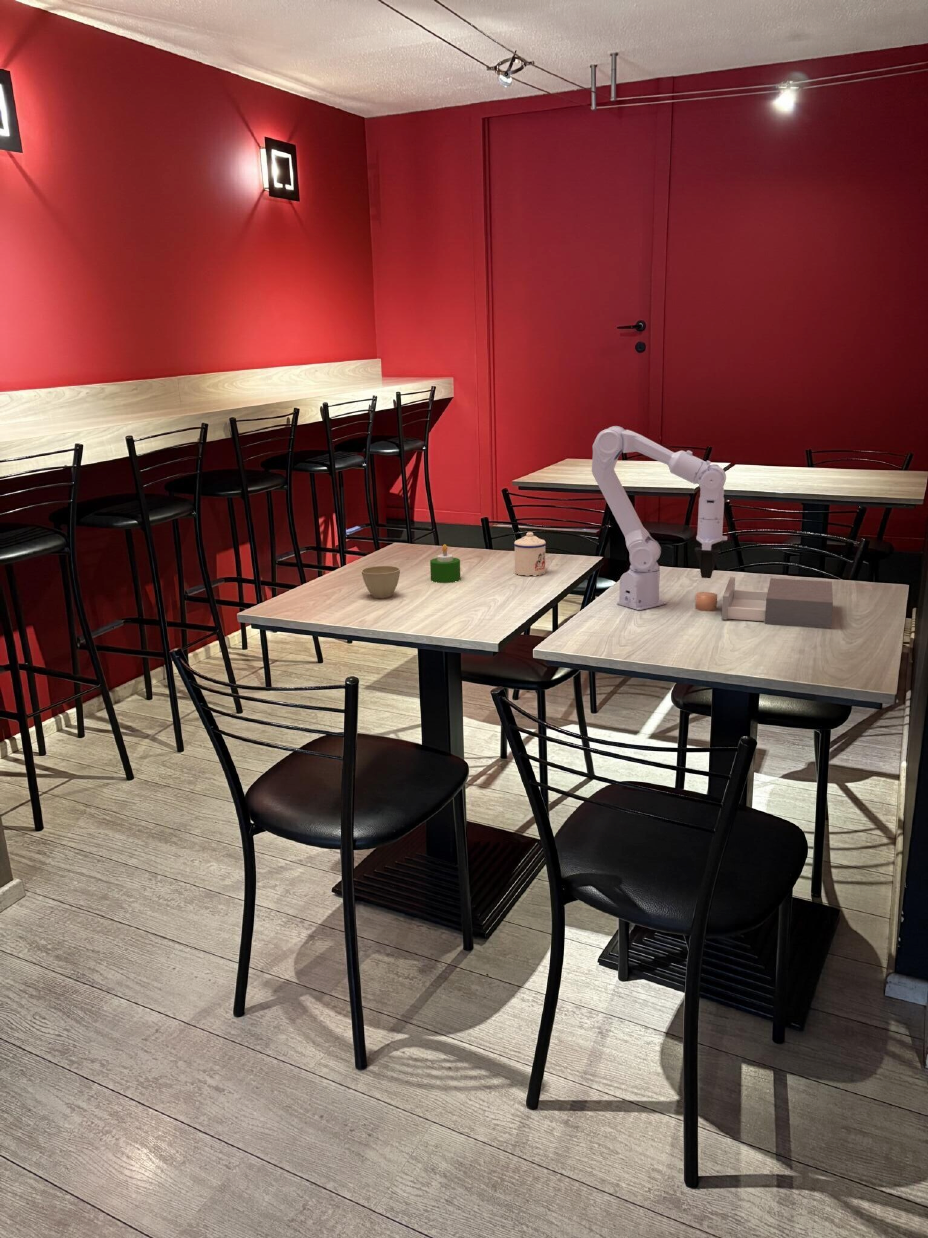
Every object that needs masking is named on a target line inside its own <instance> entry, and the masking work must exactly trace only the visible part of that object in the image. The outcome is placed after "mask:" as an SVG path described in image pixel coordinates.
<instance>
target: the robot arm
mask: <svg viewBox="0 0 928 1238" xmlns="http://www.w3.org/2000/svg"><path fill="white" fill-rule="evenodd" d="M634 452H635V453H636V452H637V453H640V454H642V455H643V456H646V457H649V458H651V459H652V460H655V461H658V462H660V463H663V464H664V465H666V466H667V467H668V468H669V472H670V473H671V474H672V475H675V476H677V477H678V478H681V479H682V480H685V481H687V482H688V483H690V484H693V485H698V487H699V488H700V493H699V498H698V516H697V532H696V533H697V535H696V541H697V542H698V544H699V547H698V546H697V547H695V548H694V552H695V554H696V558H697V560H698V565H699V570H700V576H701V579H702V578H703V579H711V578H712V575H713V572H714V571H715V568H716V564H717V559H718V555H719V554H720V551H721V550H720V549H721V548H722V546H723V544H724V541H728V536H727V535H726V536H725V535H723V529H724V527H723V526H724V512H725V511H724V510H725V498H724V495H725V490H724V489H725V488H724V486H725V485H726V480H727V474H726V471H725V470H724V469H723V468H722V467H721V466H719V464H712V461H710V460H706V461H704V460H703V459H701V458H699V457H698V456H694V455H693V451H691V450H686V451H685V450H679V451H676V452H674V451H671V450H670V449H668V448H666V447H664V446H662V445H661V444H658V443H657V442H655V441H653V440H651V439H649V438H648V437H645V436H644V435H642V434H639V433H637V432H635V431H633V430H630V429H624V428H623V426H622V427H621V426H618V425H613V426H609V427H608V428H605V429H604V430H601V431H599V433H598V434H597V435H596V438H595V439H594V442H593V444H592V461H591V462H592V463H591V473H592V476H593V478H594V479H595V482H596V483H597V485H598V487H599V489H600V492H601V493H602V496H603V498H604V499H605V501H606V503H607V504H608V507H609V508H610V511H611V512H612V515H613V516H614V518H615V521H616V523H617V524H618V526H619V528H620V530H621V532H622V534H623V536H624V538H625V545H626V548H627V550H628V552H629V553H628V554H629V558H628V559H629V563H630V565H629V569H628V570H627V571H626V572H624V573H623V574H622V575H621V576H620V578H619V595H618V597H619V598H618V599H619V600H618V601H617V602H616V604H617V605H619V606H623V607H627V608H630V609H632V610H633V609H634V610H637V611H641V610H646V609H651V608H654V607H658V606H659V607H660V606H663V605H667V602H666V601H663V600H660V577H661V576H660V575H661V572H660V571H661V566H660V565H659V564H658V560H659V558H660V556H661V554H662V548H661V546H660V544H659V542H658V541H657V540H655V539H654V538H653V537H652V536H651V534H650V533H649V531H648V530H647V529H646V528H645V527H644V526H643V525H644V524H642V521H641V519H640V518H639V515H638V513H637V512H636V510H635V507H634V506H633V503H632V502H631V500H630V499H629V496H628V494H627V492H626V490H625V489H624V486H623V484H622V483H621V481H620V479H619V476H618V475H617V473H616V470H615V467H616V465H617V463H618V459H619V457H620V455H621V454H622V453H623V454H625V453H634Z"/></svg>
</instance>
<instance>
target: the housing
mask: <svg viewBox="0 0 928 1238" xmlns="http://www.w3.org/2000/svg"><path fill="white" fill-rule="evenodd" d="M767 592H768V593H767V597H766V610H765V621H764V624H765V625H775V626H777V625H778V626H789V627H790V626H791V627H802V628H803V627H805V628H819V629H831V628H832V619H833V618H832V617H833V606H834V595H833V594H834V593H833V592H834V591H833V582H832V581H826V580H824V581H823V580H809V579H792V578H773V577H771V578H770V580H769V584H768V589H767Z"/></svg>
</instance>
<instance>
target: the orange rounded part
mask: <svg viewBox="0 0 928 1238" xmlns="http://www.w3.org/2000/svg"><path fill="white" fill-rule="evenodd" d="M717 608H718V594H717V593H715V592H710V591H702V592H697V593H696V594H695V607H694V609H695V610H697V611H701V612H714V611H716V610H717Z"/></svg>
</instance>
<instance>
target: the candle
mask: <svg viewBox="0 0 928 1238" xmlns="http://www.w3.org/2000/svg"><path fill="white" fill-rule="evenodd" d="M441 549H442V550H441V551H442V553H441V554H439V555H437V556H436V558H432V559H430V561H429V567H430V581H431V582H432V581H433V582H432V583H436V582H437V584H451V583H456V582H455V581H457V582H459V580H460V581H461V559H460V558H457V557H453V554H448V546H447V544H445V543H444V544H443V545H442V548H441Z"/></svg>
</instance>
